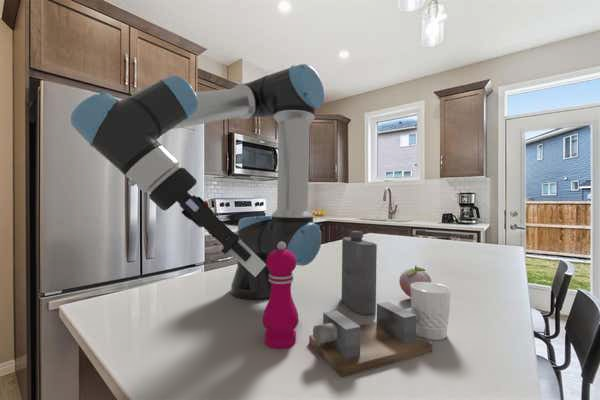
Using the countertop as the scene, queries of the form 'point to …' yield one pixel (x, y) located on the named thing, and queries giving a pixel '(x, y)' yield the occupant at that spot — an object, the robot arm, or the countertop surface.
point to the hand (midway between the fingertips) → (250, 262)
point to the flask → (359, 273)
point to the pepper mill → (280, 300)
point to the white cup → (431, 309)
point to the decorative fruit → (412, 278)
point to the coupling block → (368, 339)
